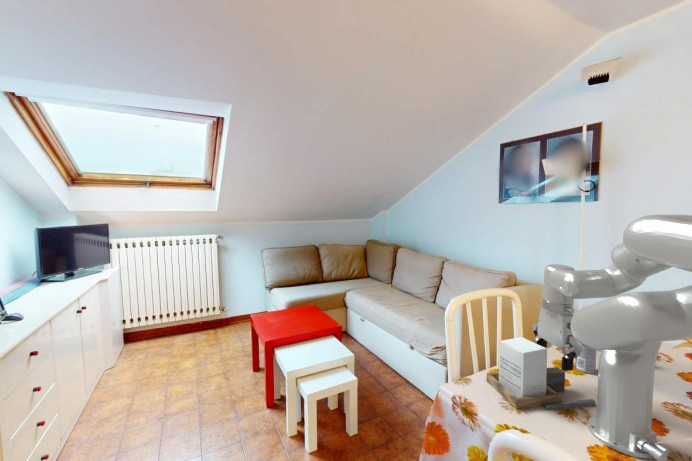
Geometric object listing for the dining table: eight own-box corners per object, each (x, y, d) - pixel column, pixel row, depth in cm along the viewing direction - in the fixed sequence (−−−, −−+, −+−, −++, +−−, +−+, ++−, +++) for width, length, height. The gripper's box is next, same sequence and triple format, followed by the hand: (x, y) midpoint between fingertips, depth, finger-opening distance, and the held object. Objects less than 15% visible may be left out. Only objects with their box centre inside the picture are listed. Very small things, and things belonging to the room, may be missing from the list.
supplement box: (520, 382, 95) (521, 336, 94) (546, 399, 87) (548, 348, 86) (497, 387, 92) (498, 339, 91) (522, 405, 84) (524, 352, 83)
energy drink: (588, 366, 105) (589, 332, 104) (599, 374, 100) (601, 339, 99) (571, 365, 106) (573, 332, 105) (582, 373, 100) (583, 338, 100)
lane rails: (595, 406, 83) (595, 401, 83) (546, 410, 81) (546, 405, 81) (548, 374, 100) (548, 370, 100) (506, 377, 98) (506, 373, 98)
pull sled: (580, 402, 84) (581, 382, 84) (515, 408, 82) (516, 387, 82) (542, 376, 98) (543, 358, 97) (486, 381, 95) (486, 362, 95)
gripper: (595, 316, 82) (590, 376, 83) (546, 296, 99) (542, 347, 100) (571, 318, 81) (566, 378, 82) (525, 297, 98) (521, 348, 99)
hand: (553, 361), depth 91 cm, fingers open, 9 cm apart
